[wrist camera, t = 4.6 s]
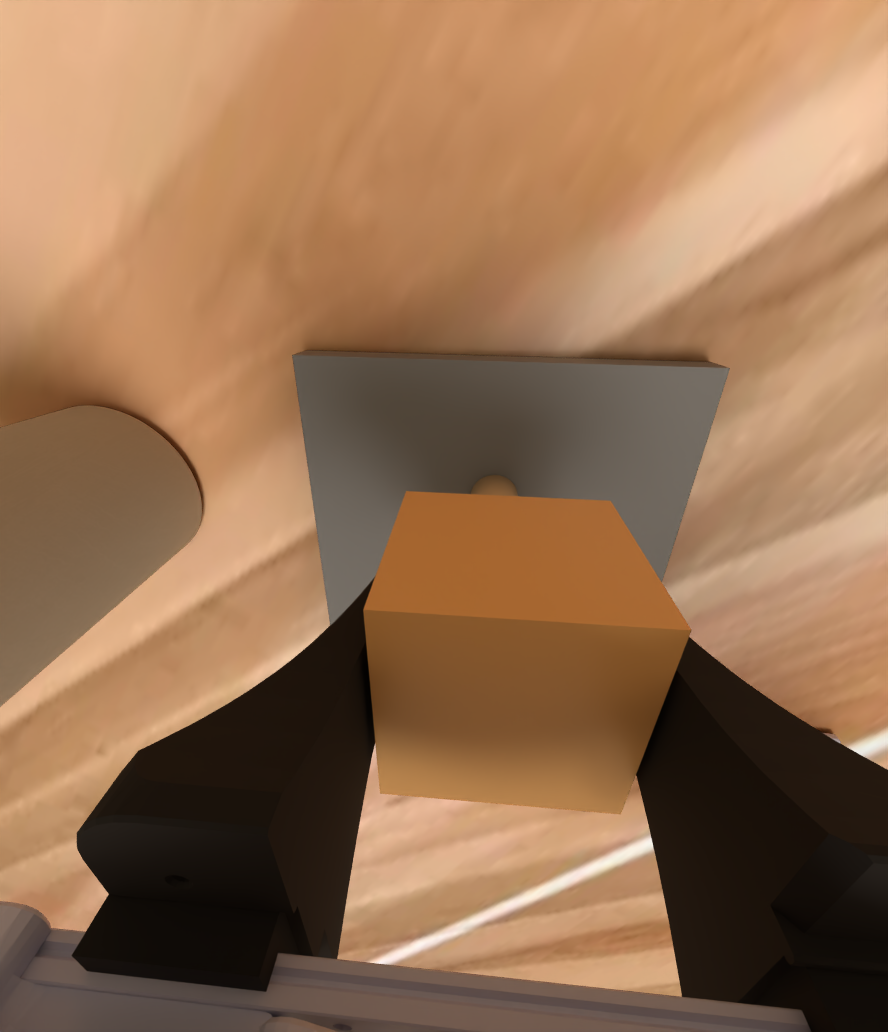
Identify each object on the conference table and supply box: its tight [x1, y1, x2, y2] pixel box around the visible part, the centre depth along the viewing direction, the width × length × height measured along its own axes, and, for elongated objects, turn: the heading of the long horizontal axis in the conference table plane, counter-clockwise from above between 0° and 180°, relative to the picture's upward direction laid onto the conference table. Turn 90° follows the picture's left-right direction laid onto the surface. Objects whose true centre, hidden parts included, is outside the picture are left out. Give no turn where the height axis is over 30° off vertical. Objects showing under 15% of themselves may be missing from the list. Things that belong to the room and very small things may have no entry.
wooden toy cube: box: [363, 491, 691, 814], centre depth 11 cm, size 6×6×5 cm
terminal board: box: [292, 350, 730, 625], centre depth 20 cm, size 16×20×5 cm
